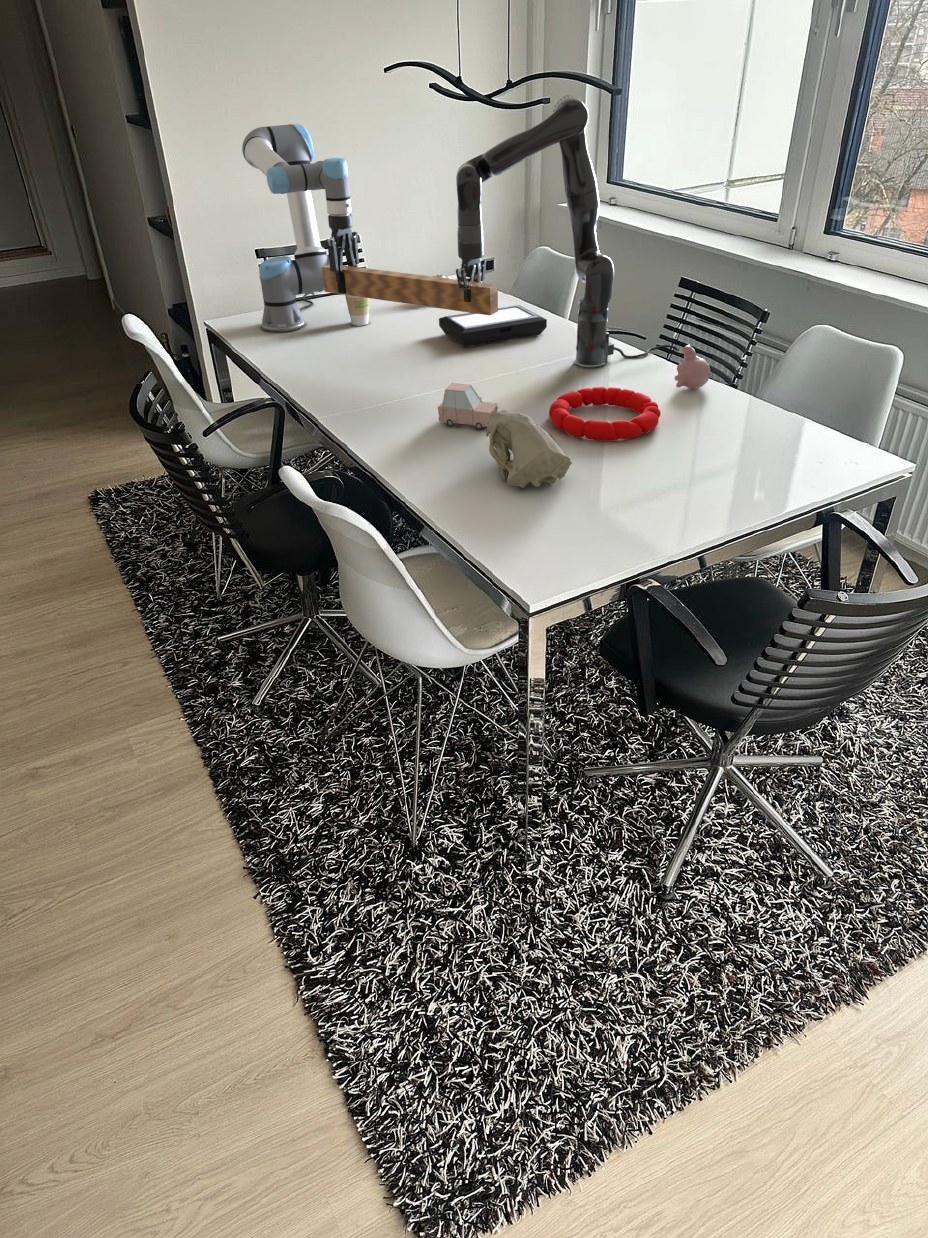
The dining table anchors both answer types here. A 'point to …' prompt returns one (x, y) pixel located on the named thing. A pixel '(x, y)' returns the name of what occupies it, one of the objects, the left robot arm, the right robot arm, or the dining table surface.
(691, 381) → the figurine
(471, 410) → the toy car
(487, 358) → the dining table surface
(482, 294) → the bar
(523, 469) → the animal skull
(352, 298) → the coffee cup
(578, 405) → the decorative ring
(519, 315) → the electronic device
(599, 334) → the right robot arm
